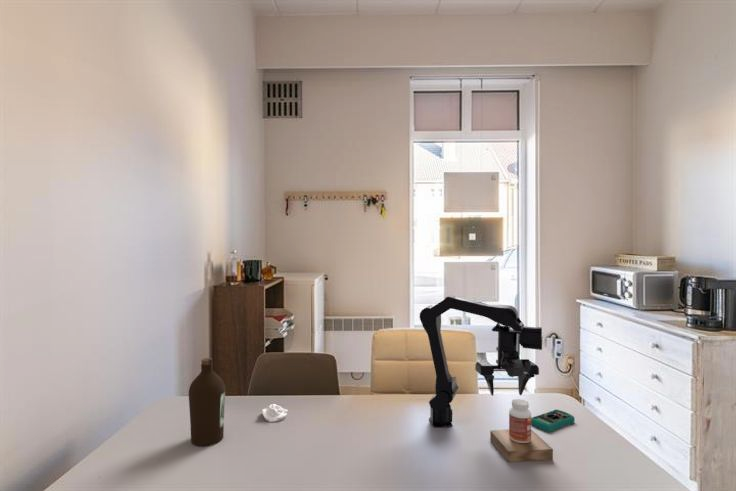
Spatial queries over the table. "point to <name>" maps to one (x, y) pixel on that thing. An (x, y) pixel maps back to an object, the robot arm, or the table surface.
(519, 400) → the pill bottle
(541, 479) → the table surface
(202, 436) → the olive oil
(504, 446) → the walnut base
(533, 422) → the digital multimeter
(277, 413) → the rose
